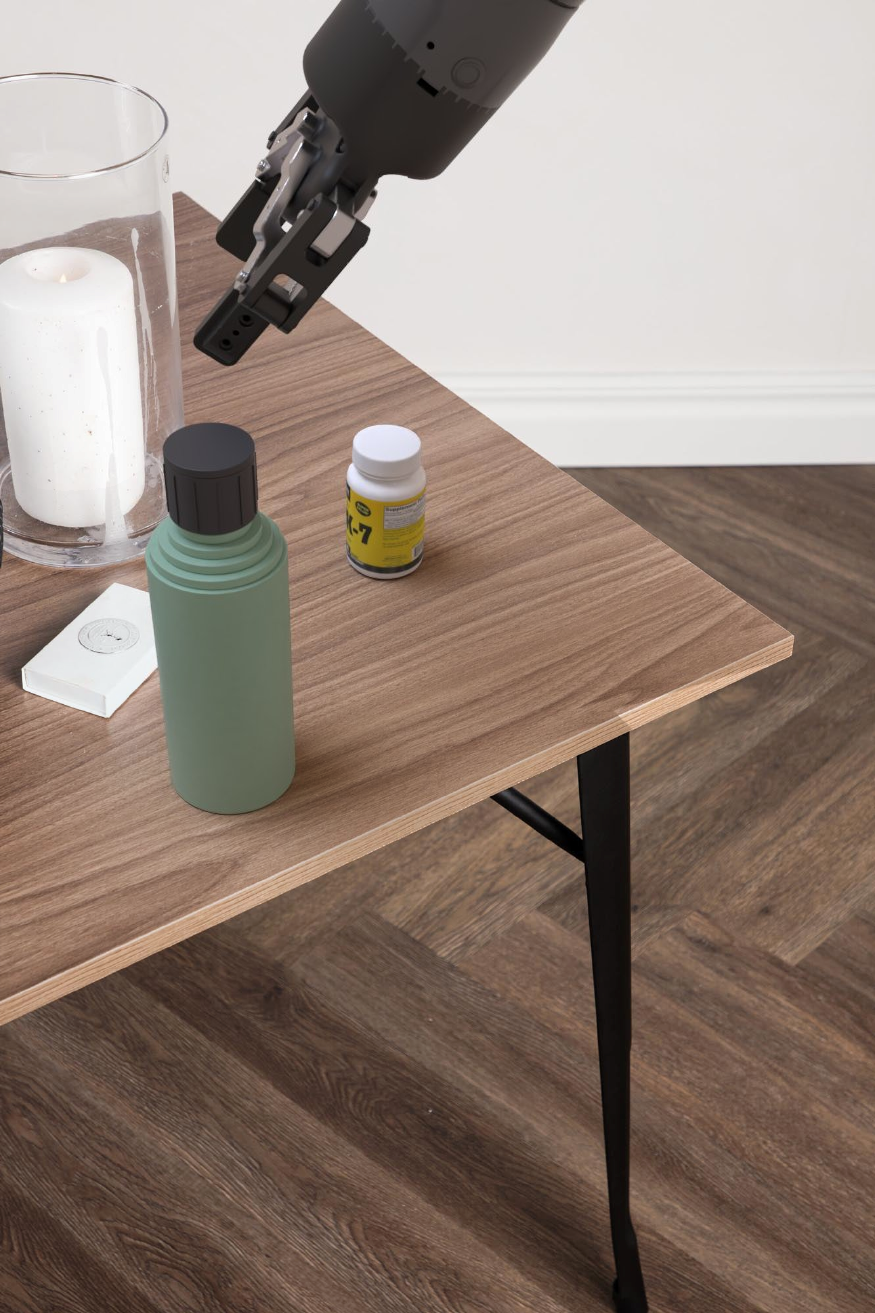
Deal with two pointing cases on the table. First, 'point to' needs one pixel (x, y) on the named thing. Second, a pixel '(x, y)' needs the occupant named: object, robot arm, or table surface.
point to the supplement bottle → (385, 502)
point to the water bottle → (224, 662)
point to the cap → (210, 478)
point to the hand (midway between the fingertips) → (221, 299)
